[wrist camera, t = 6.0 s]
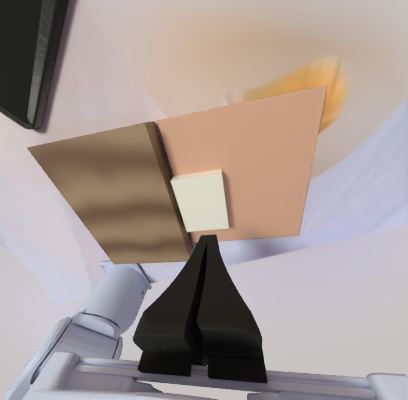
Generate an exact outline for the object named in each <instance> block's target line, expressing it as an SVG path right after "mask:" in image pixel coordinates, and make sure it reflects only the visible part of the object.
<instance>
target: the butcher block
mask: <svg viewBox="0 0 408 400" xmlns="http://www.w3.org/2000/svg"><path fill="white" fill-rule="evenodd" d="M27 149H28V150H29V151H30V153H31V154H32V155H33V157H34V158H35V159H36V161H37V162H38V163H39V165H40V166H41V167H42V169H43V170H44V171H45V173H46V174H47V175H48V177H49V178H50V179H51V181H52V182H53V183H54V185H55V186H56V187H57V189H58V190H59V191H60V193H61V194H62V195H63V197H64V198H65V199H66V201H67V202H68V203H69V205H70V206H71V207H72V209H73V210H74V211H75V213H76V214H77V215H78V217H79V218H80V219H81V221H82V222H83V223H84V225H85V226H86V227H87V229H88V230H89V231H90V233H91V234H92V235H93V237H94V238H95V239H96V241H97V242H98V244H99V245H100V246H101V248H102V249H103V250H104V252H105V253H106V254H107V256H108V257H109V258H110V260H111V261H112V262H113V264H114V265H115V264H138V263H161V262H184V261H188V260H189V258H190V256H191V254H192V253H193V246H192V243H191V239H190V236H189V233H188V232H187V231H186V227H185V224H184V221H183V218H182V215H181V212H180V209H179V206H178V203H177V200H176V197H175V193H174V190H173V187H172V184H171V180H172V177H171V174H170V171H169V168H168V164H167V161H166V158H165V155H164V151H163V148H162V145H161V141H160V138H159V135H158V132H157V128H156V125H155V122H147V123H141V124H137V125H132V126H127V127H122V128H118V129H113V130H108V131H104V132H99V133H94V134H89V135H85V136H80V137H75V138H70V139H66V140H61V141H56V142H52V143H47V144H42V145H37V146H33V147H28V148H27Z"/></svg>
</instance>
